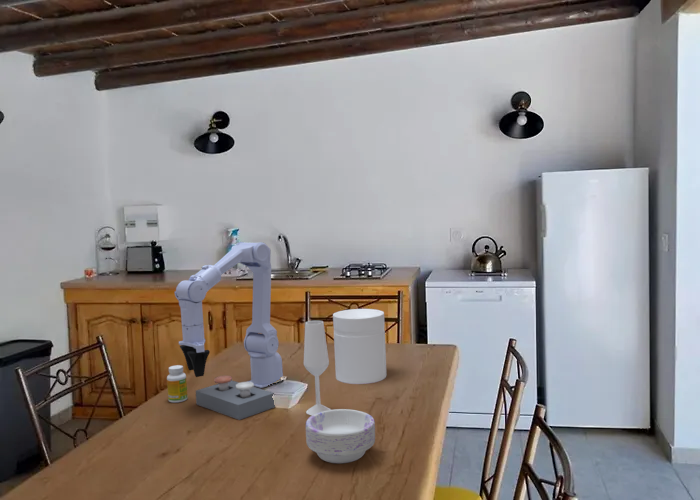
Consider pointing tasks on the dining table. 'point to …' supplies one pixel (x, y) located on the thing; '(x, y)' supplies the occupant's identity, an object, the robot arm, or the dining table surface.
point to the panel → (234, 401)
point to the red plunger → (223, 382)
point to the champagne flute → (315, 358)
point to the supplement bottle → (177, 384)
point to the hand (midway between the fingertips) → (196, 372)
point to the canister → (359, 346)
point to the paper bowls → (340, 434)
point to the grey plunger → (244, 389)
